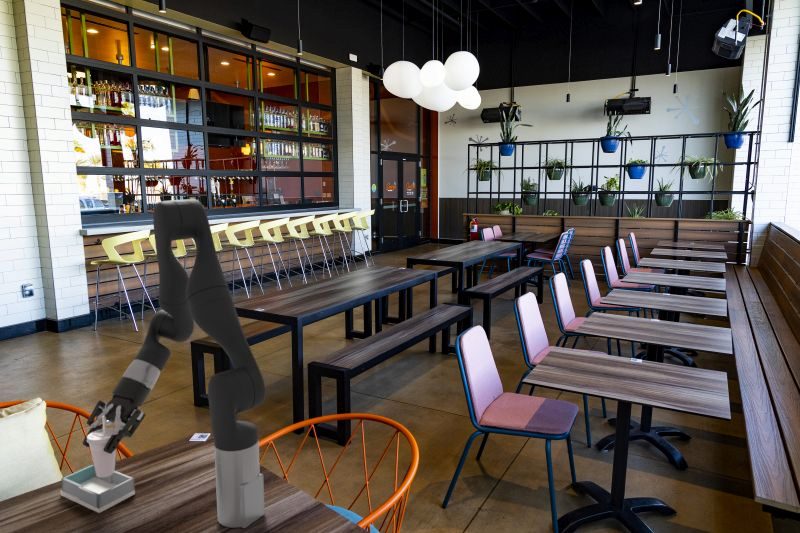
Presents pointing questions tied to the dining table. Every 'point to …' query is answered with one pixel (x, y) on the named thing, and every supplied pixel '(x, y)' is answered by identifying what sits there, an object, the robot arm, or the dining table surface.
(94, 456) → the smoothie
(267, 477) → the dining table surface
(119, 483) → the grey tray
